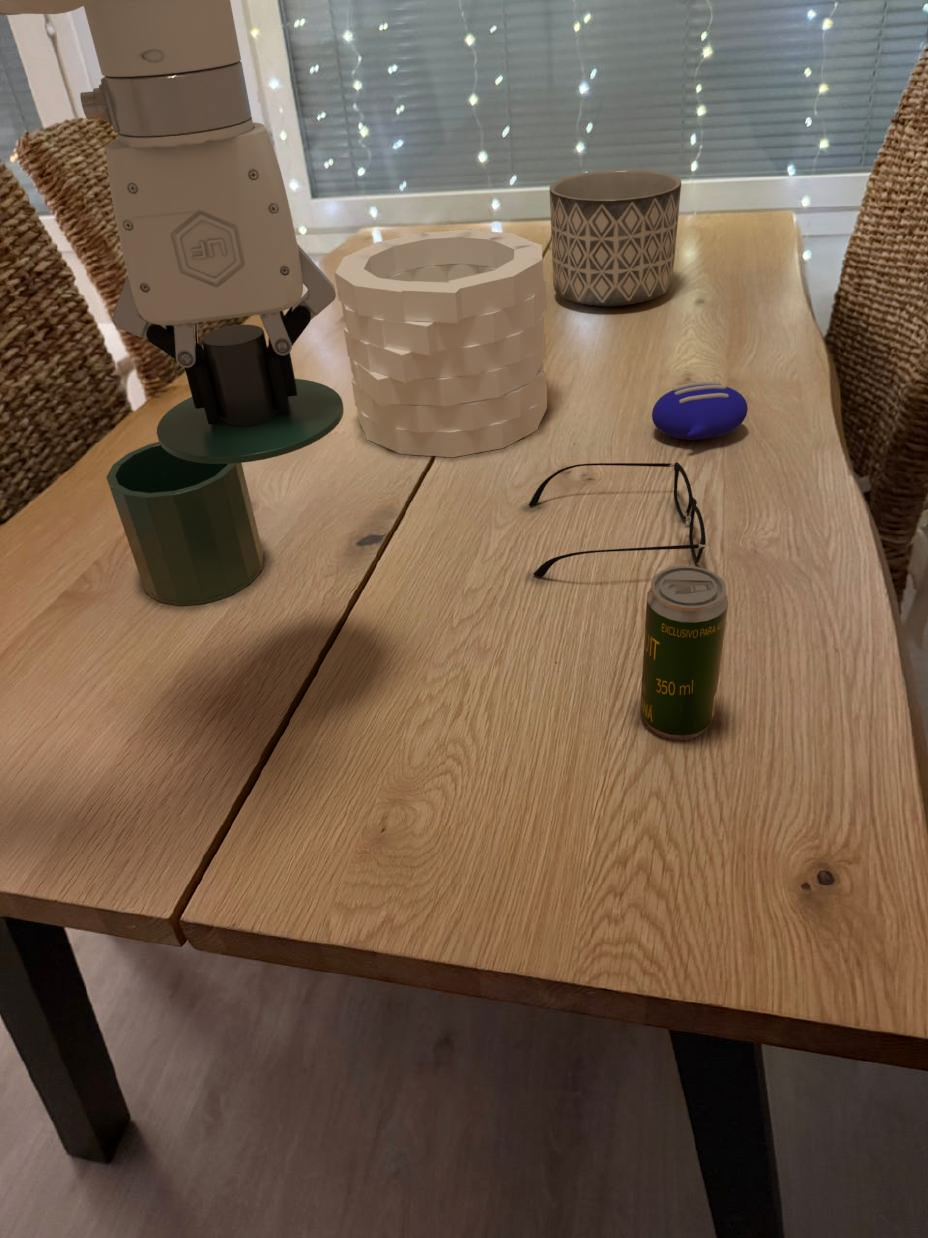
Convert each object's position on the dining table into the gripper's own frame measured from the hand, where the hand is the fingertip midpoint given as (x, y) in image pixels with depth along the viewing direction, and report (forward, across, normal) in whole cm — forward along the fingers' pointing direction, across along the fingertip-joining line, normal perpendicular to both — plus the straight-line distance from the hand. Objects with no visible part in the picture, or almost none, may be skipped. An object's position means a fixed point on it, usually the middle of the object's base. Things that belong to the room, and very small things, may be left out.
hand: (249, 408), depth 62 cm
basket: (+23, +19, +45) cm, 55 cm away
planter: (+23, +51, +82) cm, 99 cm away
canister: (+23, -10, +18) cm, 31 cm away
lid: (+1, 0, 0) cm, 1 cm away
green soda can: (+23, +27, -13) cm, 38 cm away
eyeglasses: (+23, +30, +13) cm, 40 cm away
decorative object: (+23, +46, +31) cm, 60 cm away
